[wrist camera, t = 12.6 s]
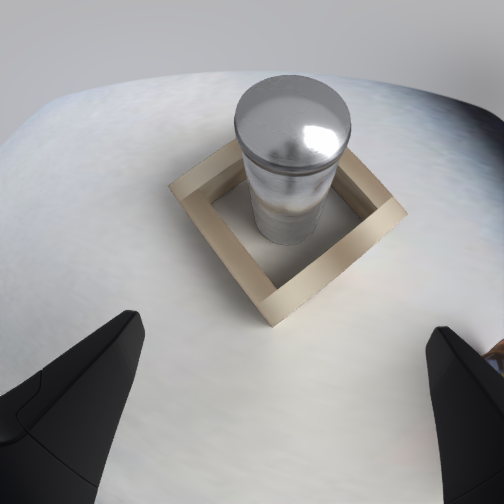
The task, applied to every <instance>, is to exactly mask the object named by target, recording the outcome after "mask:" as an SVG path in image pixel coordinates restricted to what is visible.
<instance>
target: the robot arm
mask: <svg viewBox="0 0 504 504" xmlns="http://www.w3.org/2000/svg"><path fill="white" fill-rule="evenodd" d="M144 338H145V330H144V326H143V323H142V320H141V317H140V314H139V312H137V311H132V310H125V311H123V312H122V313H120V314H119V315H117V316H116V317H115V318H113V319H112V320H110V321H109V322H107V323H106V324H105V325H103V326H102V327H100V328H99V329H97V330H96V331H95V332H93V333H92V334H90V335H89V336H87V337H86V338H85V339H83V340H82V341H80V342H79V343H78V344H76V345H75V346H73V347H72V348H70V349H69V350H68V351H66V352H65V353H63V354H62V355H61V356H59V357H58V358H56V359H55V360H54V361H52V362H51V363H50V364H48V365H47V366H45V367H44V368H43V369H42V370H40V371H38V372H37V373H36V374H34V375H33V376H31V377H30V378H29V379H27V380H26V381H24V382H23V383H21V384H20V385H18V386H17V387H15V388H13V389H12V390H10V391H9V392H7V393H5V394H4V395H2V396H0V504H94V502H95V498H96V495H97V491H98V487H99V484H100V480H101V477H102V473H103V470H104V467H105V464H106V460H107V457H108V454H109V451H110V448H111V445H112V442H113V438H114V435H115V432H116V429H117V426H118V423H119V421H120V418H121V415H122V412H123V409H124V406H125V403H126V400H127V398H128V395H129V392H130V389H131V387H132V384H133V381H134V377H135V374H136V370H137V366H138V362H139V358H140V354H141V350H142V346H143V342H144ZM426 360H427V368H428V377H429V387H430V395H431V401H432V406H433V412H434V418H435V424H436V430H437V437H438V444H439V452H440V461H441V471H442V483H443V500H444V504H504V377H503V376H502V375H501V374H500V373H499V372H498V371H497V370H495V369H494V368H493V367H492V366H491V365H490V364H489V363H488V362H487V361H486V360H485V359H484V358H483V357H482V356H480V355H479V354H478V353H477V352H476V351H475V350H474V349H473V348H472V347H471V346H469V345H468V344H467V343H466V342H465V341H464V340H463V339H462V338H461V337H459V336H458V335H457V334H456V333H455V332H454V331H453V330H451V329H450V328H449V327H447V326H438V327H436V328H435V329H434V331H433V333H432V335H431V337H430V339H429V341H428V343H427V345H426Z"/></svg>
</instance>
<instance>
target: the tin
mask: <svg viewBox="0 0 504 504" xmlns="http://www.w3.org/2000/svg"><path fill="white" fill-rule="evenodd" d="M482 357H483V358H484V359H485V360H486V361H487V362H488V363H489V364H490V365H491V366H492V367H493V368H494V369H495V370H497V371H498V372H499V373H500V374H501V375H502V376H503V377H504V339H503V340H501V341H500V342H499V343H497V344H496V345H495V346H494V347H493V348H492V349H491V350H490V351H489V352H488V353H486V354H484V355H483V356H482Z"/></svg>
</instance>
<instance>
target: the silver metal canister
mask: <svg viewBox="0 0 504 504" xmlns="http://www.w3.org/2000/svg"><path fill="white" fill-rule="evenodd" d="M234 127H235V133H236V137H237V141H238V144H239V146H240V148H241V150H242V155H243V160H244V165H245V170H246V175H247V180H248V185H249V190H250V195H251V200H252V205H253V210H254V216H255V221H256V224H257V227H258V229H259V230H260V232H261V233H262V234H263V235H264V236H265V237H266V238H267V239H268V240H270V241H272V242H274V243H277V244H281V245H293V244H297V243H300V242H302V241H304V240H305V239H307V238H308V237H309V236H310V235H311V234H312V233H313V231H314V229H315V227H316V225H317V222H318V219H319V217H320V214H321V211H322V208H323V206H324V203H325V200H326V197H327V195H328V192H329V189H330V186H331V183H332V180H333V178H334V175H335V172H336V169H337V166H338V163H339V160H340V158H341V157H342V155H343V153H344V152H345V150H346V147H347V144H348V141H349V138H350V135H351V118H350V113H349V110H348V107H347V105H346V103H345V102H344V100H343V99H342V98H341V96H340V95H339V94H338V93H337V92H336V91H334V90H333V89H332V88H331V87H329V86H328V85H326V84H324V83H322V82H320V81H318V80H315V79H312V78H309V77H304V76H298V75H282V76H275V77H271V78H268V79H265V80H262V81H260V82H258V83H256V84H255V85H253V86H252V87H250V88H249V89H248V90H247V91H246V92H245V93H244V94H243V96H242V97H241V99H240V100H239V102H238V105H237V108H236V113H235V117H234Z"/></svg>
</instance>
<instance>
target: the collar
mask: <svg viewBox="0 0 504 504" xmlns="http://www.w3.org/2000/svg"><path fill="white" fill-rule="evenodd" d="M245 179H247V175H246V170H245V165H244V160H243V155H242V150H241V148H240V146H239V144H238V141H237V139H235V140H233V141H232V142H230V143H229V144H227V145H226V146H224V147H223V148H221V149H220V150H218V151H217V152H215V153H214V154H212V155H211V156H209V157H208V158H206V159H205V160H203V161H202V162H201V163H199V164H198V165H196V166H195V167H193V168H192V169H191V170H189V171H188V172H186V173H185V174H184V175H182V176H181V177H179V178H178V179H177V180H175V181H174V182H172V183H171V184H170V185H168V187H169V189H170V190H171V192H172V193H173V194H174V196H175V197H176V199H177V200H178V201H179V203H180V204H181V206H182V207H183V208H184V210H185V211H186V213H187V214H188V215H189V217H190V218H191V220H192V221H193V222H194V224H195V225H196V226H197V228H198V229H199V231H200V232H201V233H202V235H203V236H204V237H205V239H206V240H207V241H208V243H209V244H210V246H211V247H212V248H213V250H214V251H215V252H216V254H217V255H218V256H219V258H220V259H221V260H222V262H223V263H224V265H225V266H226V267H227V269H228V270H229V271H230V273H231V274H232V275H233V277H234V278H235V279H236V281H237V282H238V283H239V285H240V286H241V287H242V289H243V290H244V291H245V293H246V294H247V295H248V297H249V298H250V299H251V300H252V302H253V303H254V304H255V306H256V307H257V308H258V310H259V311H260V312H261V314H262V315H263V316H264V318H265V319H266V320H267V321H268V323H269V324H270V325H271V327H274V326H275V325H276V324H278V323H279V322H280V321H282V320H283V319H284V318H286V317H287V316H288V315H290V314H291V313H292V312H293V311H295V310H296V309H297V308H299V307H300V306H301V305H302V304H304V303H305V302H306V301H307V300H309V299H310V298H311V297H312V296H314V295H315V294H316V293H317V292H319V291H320V290H321V289H322V288H324V287H325V286H326V285H327V284H329V283H330V282H331V281H332V280H333V279H335V278H336V277H337V276H338V275H339V274H341V273H342V272H343V271H344V270H345V269H347V268H348V267H349V266H350V265H351V264H353V263H354V262H355V261H356V260H357V259H358V258H360V257H361V256H362V255H363V254H364V253H365V252H367V251H368V250H369V249H370V248H371V247H372V246H373V245H375V244H376V243H377V242H378V241H379V240H380V239H381V238H382V237H384V236H385V235H386V234H387V233H388V232H389V231H390V230H391V229H393V228H394V227H395V226H396V225H397V224H398V223H399V222H400V221H401V220H402V219H403V218H404V217H405V216H407V215H408V213H407V212H406V211H405V209H404V208H403V207H402V206H401V205H400V203H399V202H398V201H397V200H396V199H395V198H394V197H393V195H392V194H391V193H390V192H389V191H388V190H387V189H386V187H385V186H384V185H383V184H382V183H381V182H380V181H379V180H378V179H377V178H376V176H375V175H374V174H373V173H372V172H371V171H370V170H369V169H368V168H367V167H366V166H365V165H364V164H363V163H362V162H361V161H360V160H359V159H358V158H357V157H356V156H355V155H354V154H353V153H352V152H351V151H350V150H349V149H348V148H347V147H346V150H345V152H344V153H343V155H342V157H341V158H340V160H339V163H338V166H337V169H336V172H335V175H334V178H333V180H332V183H331V186H332V187H333V188H334V189H335V190H336V191H337V192H338V193H339V195H340V196H341V197H342V198H343V199H344V200H345V201H346V202H347V203H348V205H349V206H350V207H351V208H352V209H353V210H354V211H355V213H356V214H357V215H358V216H359V217H360V218H361V220H362V221H363V222H362V223H361V224H359V225H358V226H357V227H356V228H354V229H353V230H352V231H351V232H350V233H348V234H347V235H346V236H345V237H344V238H342V239H341V240H340V241H339V242H337V243H336V244H335V245H334V246H332V247H331V248H330V249H329V250H327V251H326V252H325V253H324V254H322V255H321V256H320V257H319V258H317V259H316V260H315V261H314V262H312V263H311V264H310V265H309V266H307V267H306V268H305V269H304V270H302V271H301V272H300V273H298V274H297V275H296V276H295V277H293V278H292V279H291V280H289V281H288V282H287V283H286V284H284V285H283V286H282V287H280V288H279V289H278V290H277V289H276V288H275V286H274V285H273V284H272V282H271V281H270V280H269V279H268V277H267V276H266V275H265V273H264V272H263V271H262V270H261V268H260V267H259V266H258V264H257V263H256V262H255V261H254V259H253V258H252V257H251V255H250V254H249V253H248V252H247V250H246V249H245V248H244V246H243V245H242V244H241V243H240V241H239V240H238V239H237V237H236V236H235V235H234V234H233V232H232V231H231V230H230V228H229V227H228V226H227V225H226V223H225V222H224V221H223V219H222V218H221V217H220V216H219V214H218V213H217V212H216V210H215V209H214V208H213V206H212V205H211V203H213V202H214V201H215V200H217V199H218V198H220V197H221V196H222V195H224V194H225V193H227V192H228V191H229V190H231V189H232V188H234V187H235V186H236V185H238V184H239V183H241V182H242V181H244V180H245Z"/></svg>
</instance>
